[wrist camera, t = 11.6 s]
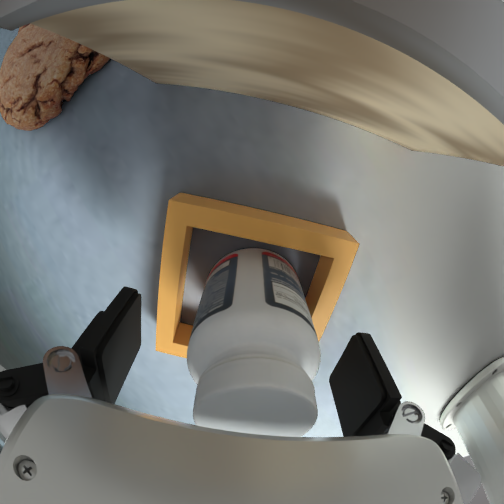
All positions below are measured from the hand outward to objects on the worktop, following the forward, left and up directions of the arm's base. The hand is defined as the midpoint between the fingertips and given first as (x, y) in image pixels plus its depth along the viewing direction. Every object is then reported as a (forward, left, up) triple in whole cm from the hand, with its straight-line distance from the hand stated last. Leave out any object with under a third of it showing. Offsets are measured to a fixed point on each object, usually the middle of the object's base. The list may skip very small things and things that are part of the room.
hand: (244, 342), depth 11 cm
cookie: (+15, -12, -5) cm, 20 cm away
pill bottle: (0, 0, -5) cm, 5 cm away
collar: (0, 0, -5) cm, 5 cm away
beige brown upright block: (0, -11, -5) cm, 12 cm away
